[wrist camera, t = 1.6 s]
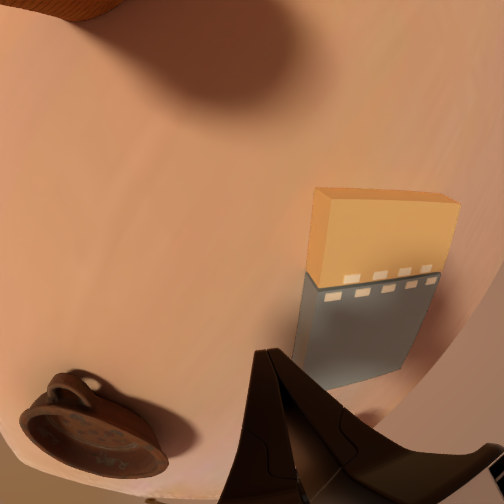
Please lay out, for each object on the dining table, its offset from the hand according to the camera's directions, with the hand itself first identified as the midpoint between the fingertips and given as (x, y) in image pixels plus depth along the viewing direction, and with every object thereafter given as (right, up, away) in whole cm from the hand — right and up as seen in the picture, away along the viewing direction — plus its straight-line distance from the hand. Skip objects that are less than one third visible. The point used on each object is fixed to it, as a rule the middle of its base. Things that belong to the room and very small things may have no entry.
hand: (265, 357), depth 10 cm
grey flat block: (+9, -3, +15) cm, 18 cm away
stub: (+9, +5, +11) cm, 15 cm away
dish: (-19, -16, +17) cm, 30 cm away
